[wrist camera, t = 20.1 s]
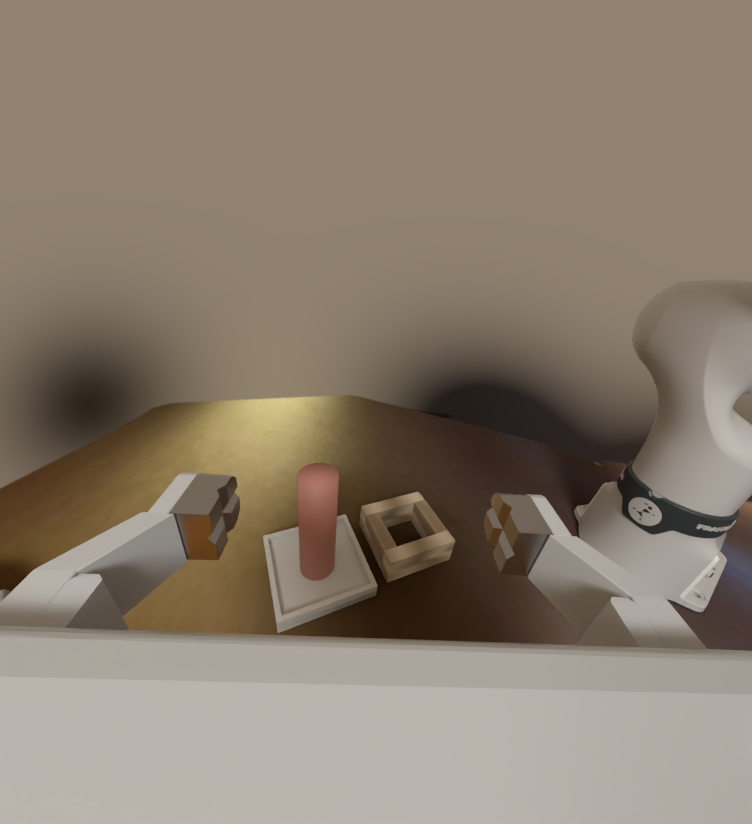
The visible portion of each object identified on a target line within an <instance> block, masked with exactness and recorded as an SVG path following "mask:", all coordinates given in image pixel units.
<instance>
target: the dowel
mask: <svg viewBox="0 0 752 824" xmlns="http://www.w3.org/2000/svg"><path fill="white" fill-rule="evenodd" d="M338 485H339V473H338V471H337V470H336V469H335V468H334V467H333V466H331V465H328V464H324V463H313V464H309V465H307V466H305V467H303V468H302V469H301V470H300V471H299V472H298V474H297V498H298V528H299V559H300V571H301V573H302V575H303V576H304V577H305V578H307V579H309V580H313V581H318V580H322V579H325V578H326V577H328V576H329V575H330V574H331V573H332V571H333V569H334V565H335V545H336V525H337V505H338Z"/></svg>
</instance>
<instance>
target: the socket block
mask: <svg viewBox="0 0 752 824" xmlns="http://www.w3.org/2000/svg"><path fill="white" fill-rule="evenodd" d="M407 521H411V522H412V524H413V526H414V527H415V529H416V530H417V532H418V533H419V535H420V536H421V538H422V539H419V540H416V541H413V542H410V543H407V544H403V545H400V546H397V545H396V544H395V542H394V540H393V538H392V537H391V535H390V533H389V531H388V529H387V527H390V526H394V525H397V524H401V523H404V522H407ZM359 525H360V527H361V529H362V532H363V534H364V536H365V538H366V540H367V542H368V544H369V546H370V548H371V550H372V553H373V555H374V557H375V559H376V561H377V563H378V565H379V567H380V569H381V571H382V573H383V576H384V578H385V580H386V582H387V583H388V582H390V581H393V580H396V579H398V578H401V577H404V576H406V575H409V574H412V573H414V572H417V571H420V570H423V569H425V568H428V567H431V566H433V565H436V564H439V563H441V562H444V561H447V560H449V559H450V556H451V553H452V550H453V547H454V544H455V539H454V538H453V537H452V535H451V534H450V533H449V531H448V530H447V529H446V528H445V526H444V525H443V524H442V522H441V521H440V520H439V518H438V517H437V516H436V514H435V513H434V512H433V510H432V509H431V508H430V506H429V505H428V504H427V502H426V501H425V500H424V498H423V497H422V496H421V494H420V493H419V492H415V493H411V494H407V495H403V496H399V497H395V498H391V499H387V500H384V501H380V502H376V503H372V504H368V505H364V506H361V513H360V523H359Z"/></svg>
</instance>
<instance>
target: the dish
mask: <svg viewBox="0 0 752 824" xmlns="http://www.w3.org/2000/svg"><path fill="white" fill-rule="evenodd" d="M10 593H11V592H10V591H9V590H7V589H3V590H0V602H1V601H2V600H3V599H4V598H5V597H6V596H7V595H9V594H10Z"/></svg>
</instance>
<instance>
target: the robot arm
mask: <svg viewBox="0 0 752 824" xmlns="http://www.w3.org/2000/svg"><path fill="white" fill-rule="evenodd" d="M632 341H633V346H634V350H635V352H636V354H637V356H638V357H639V359H640V360H641V361H642V362H643V363H644V365H645V366H646V367H647V369H648V370H649V372H650V374H651V376H652V378H653V380H654V383H655V385H656V389H657V394H658V411H657V416H656V419H655V423H654V425H653V427H652V429H651V431H650V434H649V436H648V438H647V440H646V442H645V444H644V445H643V447H642V449H641V451H640V452H639V454H638V456H637V458H636V459H635V460H632V461H630V462H629V463H628V465H627V466H626V467H625V468H624V469H623V471H622V472H621V475H620V477H619V479H618V481H617V482H609V483H604V484H603V485H602V486H601V488H600V489H599V491H598V492H597V493H596V495H595V496H594V498H593V499H592V500H591V502H590V503H589V505H580V506H577V507H576V508H575V509H574V514H575V516H576V518H577V520H578V522H579V529H578V531H579V537H580V539H579V538H578V537H574V536H571V534H570V533H569V531H568V530H567V528H566V527H565V525H564V524H563V522H562V521H561V519H560V518H559V517H558V515H557V514H556V512H555V511H554V509H553V508H552V506H551V505H550V503H549V502H548V500H547V499H546V498H545V497H544V496H542V495H528V494H526V495H524V494H506V493H495V494H494V495H493V497H492V499H491V504H492V507H493V508H491V509H490V510H489V511H487V512H486V515H485V519H484V531H485V536H486V538H487V541H488V542H489V543H490V544H491V545H492V546H493V547H494V548H495V549H494V552H493V557H494V559H495V562H496V564H497V567H498V569H499V572H500V574H510V575H523V576H528V578H529V580H530V581H531V582H532V583H533V584H534V585H535V586H536V587H537V588H538V589H539V590H540V591H541V592H542V593H543V594H544V595H545V596H546V598H547V599H548V600H549V601H550V602H551V603H552V604H553V605H554V606H555V607H556V608H557V609H558V610H559V611H560V612H561V613H562V614H563V615H564V617H565V618H566V619H567V620H568V621H569V622H570V623H571V624H572V625H573V626H574V627H575V628H576V629H577V630H578V631H579V632H580V633H581V635H582V636H581V637H580V638H579V640H578V641H577V642H576V643H575V645H561V644H531V643H501V642H471V641H442V640H412V639H381V638H351V637H320V636H290V635H260V634H231V633H201V632H172V631H142V630H129V628H128V626H127V624H126V622H125V621H124V619H123V616H124V615H125V614H126V613H127V612H129V611H130V610H131V609H132V608H133V607H134V606H136V605H137V604H138V603H139V602H140V601H141V600H143V599H144V598H145V597H146V596H147V595H149V594H150V593H151V592H152V591H153V590H154V589H156V588H157V587H158V586H159V585H160V584H162V583H163V582H164V581H165V580H166V579H167V578H169V577H170V576H171V575H172V574H173V573H174V572H176V571H177V570H178V569H179V568H180V567H182V566H183V565H184V564H185V563H186V562H187V560H219V558H220V556H221V554H222V552H223V550H224V548H225V545H226V543H227V541H228V539H227V532H229V531H230V530H232V529H233V528H234V526H235V524H236V522H237V519H238V515H239V511H240V500H239V496H237V495H236V494H235V493H234V492H235V490H236V488H237V482H236V478H235V477H234V476H226V475H214V474H203V473H200V474H198V473H188V472H183V473H181V474H179V475H178V476H177V477H176V478H175V479H174V481H173V482H172V483H171V484H170V485H169V487H168V488H167V489H166V490H165V492H164V493H163V494H162V495H161V496H160V498H159V499H158V500H157V501H156V503H155V504H154V505H153V506H152V508H151V509H150V510H149V511H148V512H141V513H140V514H138V515H136V516H134V517H132V518H130V519H128V520H126V521H124V522H123V523H121V524H119V525H117V526H115V527H113V528H111V529H109V530H108V531H106V532H104V533H102V534H100V535H98V536H96V537H94V538H92V539H91V540H89V541H87V542H85V543H83V544H81V545H79V546H77V547H75V548H74V549H72V550H70V551H68V552H66V553H64V554H62V555H60V556H58V557H57V558H55V559H53V560H51V561H49V562H47V563H45V564H43V565H42V566H40V567H38V568H36V569H34V570H33V571H32V572H31V573H30V574H29V575H28V576H27V577H26V578H25V579H24V580H23V581H22V582H21V583H20V584H19V585H18V586H17V587H16V588H15V589H14V590H13V591H12V592H11V593H10V594H9V595H7V596H6V597H5V598H4V599H3V600H2V601H1V602H0V824H752V651H740V650H710V649H707V648H706V647H705V646H704V645H703V643H702V642H701V641H700V640H699V639H698V637H697V636H696V635H695V634H694V632H693V631H692V630H691V629H690V628H689V626H688V625H687V624H686V623H685V621H684V620H683V619H682V618H681V617H680V615H679V614H678V613H677V612H676V610H675V609H674V608H673V607H672V605H671V604H670V603H669V602H668V601H667V599H668V600H672V601H675V602H677V603H679V604H681V605H683V606H685V607H687V608H689V609H691V610H694V611H697V612H703V611H704V609H705V608H706V606H707V604H708V602H709V600H710V598H711V596H712V593H713V591H714V589H715V587H716V585H717V582H718V580H719V578H720V576H721V574H722V571H723V569H724V567H725V565H726V562H727V559H726V557H725V556H724V555H723V554H722V553H721V552H720V549H721V547H722V545H723V542H724V540H725V537H726V531H727V530H728V529H730V528H731V527H732V525H733V524H734V523H735V521H736V518H737V517H738V515H739V508H740V507H741V506H742V505H743V503H744V502H745V501H746V500H747V499H748V498H749V497H750V496H751V495H752V425H751V424H750V423H748V422H747V421H745V420H744V419H743V418H742V417H740V416H739V415H738V414H737V413H736V412H735V411H734V410H733V406H734V403H735V401H736V400H737V398H738V397H739V396H740V395H741V394H752V282H747V281H739V280H711V281H709V280H708V281H689V282H678V283H676V284H674V285H672V286H670V287H668V288H667V289H665V290H663V291H662V292H660V293H659V294H658V295H656V296H655V297H654V298H653V299H652V300H650V301H649V302H648V303H647V305H646V306H645V307H644V308H643V309H642V311H641V312H640V314H639V316H638V317H637V320H636V322H635V324H634V328H633V333H632Z"/></svg>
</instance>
